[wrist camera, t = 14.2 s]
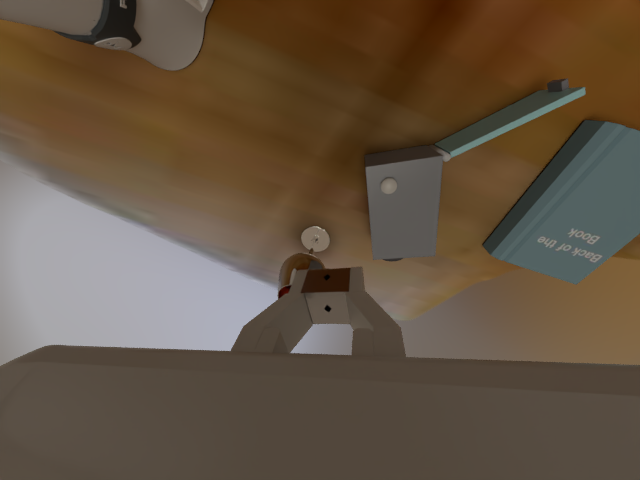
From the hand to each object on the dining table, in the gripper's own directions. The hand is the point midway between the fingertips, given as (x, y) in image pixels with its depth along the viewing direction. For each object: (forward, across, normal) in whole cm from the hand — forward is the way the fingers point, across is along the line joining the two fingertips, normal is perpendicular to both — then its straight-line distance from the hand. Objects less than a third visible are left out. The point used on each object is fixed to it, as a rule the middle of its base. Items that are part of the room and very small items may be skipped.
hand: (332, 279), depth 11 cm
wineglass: (+34, +10, +17) cm, 40 cm away
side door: (+34, -19, -1) cm, 39 cm away
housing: (+34, -7, +10) cm, 36 cm away
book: (+35, -35, +15) cm, 52 cm away
